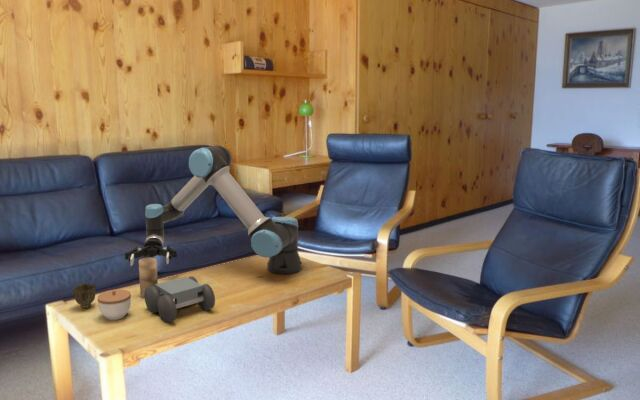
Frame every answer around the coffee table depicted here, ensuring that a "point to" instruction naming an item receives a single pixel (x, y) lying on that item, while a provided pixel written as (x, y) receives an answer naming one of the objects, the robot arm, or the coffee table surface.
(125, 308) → the lidded jar
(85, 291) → the dark brown textured bowl
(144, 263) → the tan wooden cylinder
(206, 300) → the trolley
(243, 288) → the coffee table surface
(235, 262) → the coffee table surface
